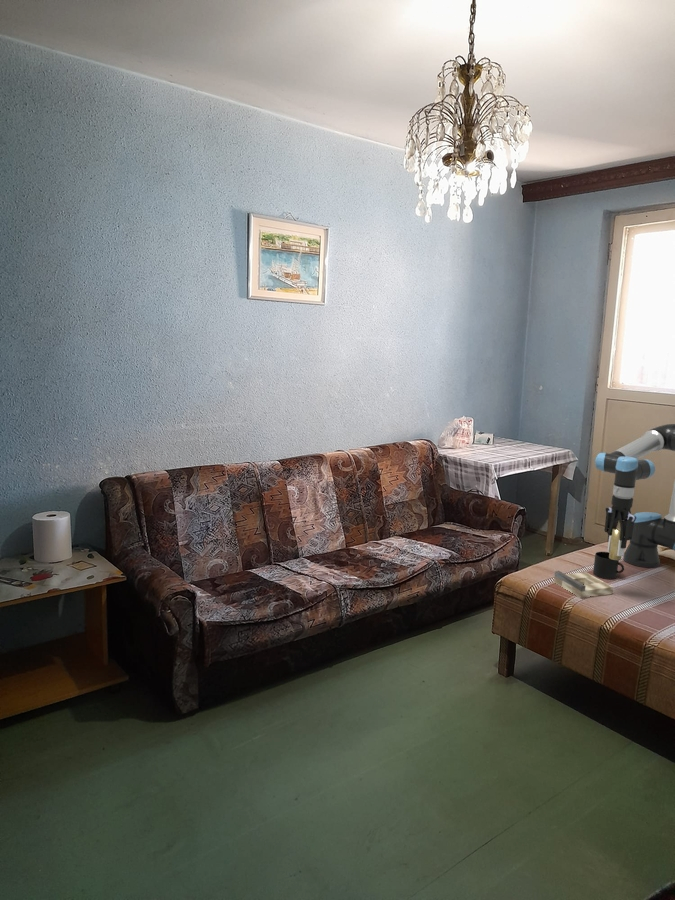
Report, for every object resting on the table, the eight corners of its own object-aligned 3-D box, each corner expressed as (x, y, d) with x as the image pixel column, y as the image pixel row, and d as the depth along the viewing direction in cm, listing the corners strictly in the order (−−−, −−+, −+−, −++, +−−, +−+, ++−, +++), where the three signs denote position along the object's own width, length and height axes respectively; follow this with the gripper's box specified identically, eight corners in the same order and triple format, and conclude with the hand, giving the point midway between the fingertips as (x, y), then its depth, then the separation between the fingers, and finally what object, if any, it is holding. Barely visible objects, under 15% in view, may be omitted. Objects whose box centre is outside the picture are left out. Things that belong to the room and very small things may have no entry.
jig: (585, 578, 270) (586, 567, 269) (612, 593, 255) (614, 582, 254) (553, 582, 264) (555, 571, 264) (580, 598, 250) (581, 586, 249)
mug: (620, 583, 267) (622, 562, 265) (590, 575, 273) (592, 555, 272) (625, 576, 274) (627, 556, 272) (596, 569, 281) (598, 549, 279)
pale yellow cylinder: (614, 555, 256) (618, 527, 253) (623, 559, 252) (627, 530, 249) (606, 556, 254) (610, 528, 252) (614, 560, 250) (618, 531, 248)
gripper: (598, 491, 255) (592, 546, 259) (632, 503, 239) (625, 561, 243) (613, 490, 257) (606, 545, 262) (648, 501, 241) (640, 560, 246)
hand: (615, 553), depth 253 cm, fingers closed on pale yellow cylinder, 4 cm apart
